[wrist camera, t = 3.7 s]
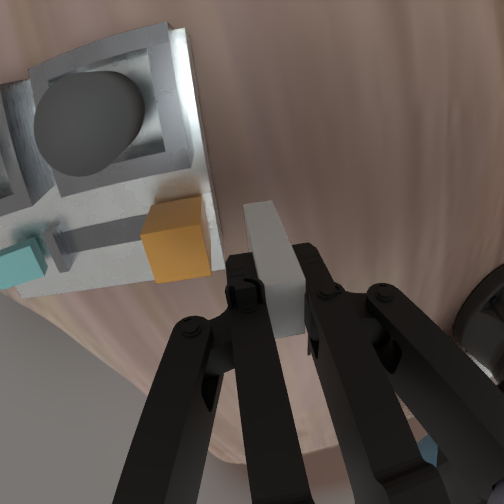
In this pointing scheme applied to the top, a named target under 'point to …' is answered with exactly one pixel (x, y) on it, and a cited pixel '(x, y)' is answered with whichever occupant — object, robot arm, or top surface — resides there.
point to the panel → (112, 177)
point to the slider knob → (177, 240)
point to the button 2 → (88, 121)
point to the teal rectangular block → (21, 263)
